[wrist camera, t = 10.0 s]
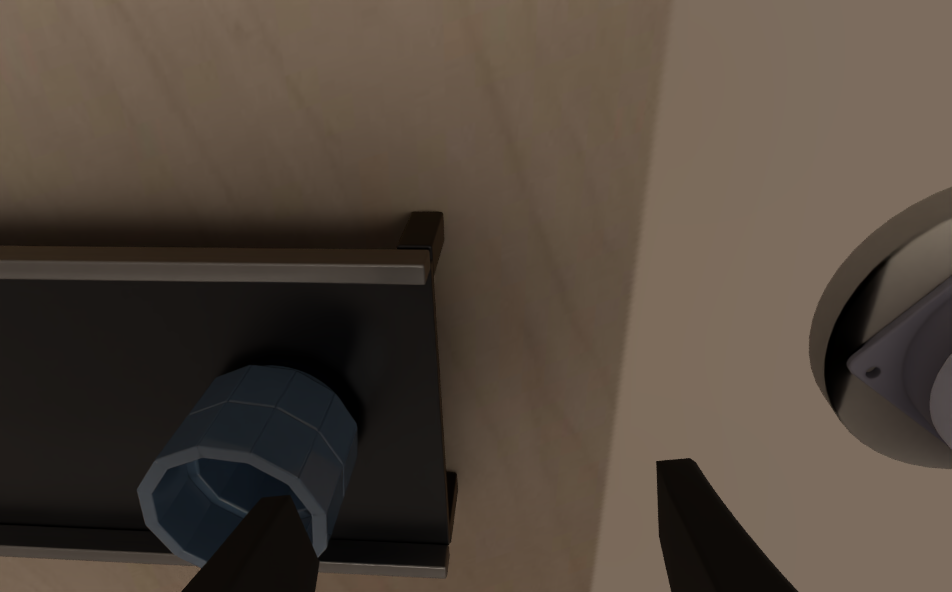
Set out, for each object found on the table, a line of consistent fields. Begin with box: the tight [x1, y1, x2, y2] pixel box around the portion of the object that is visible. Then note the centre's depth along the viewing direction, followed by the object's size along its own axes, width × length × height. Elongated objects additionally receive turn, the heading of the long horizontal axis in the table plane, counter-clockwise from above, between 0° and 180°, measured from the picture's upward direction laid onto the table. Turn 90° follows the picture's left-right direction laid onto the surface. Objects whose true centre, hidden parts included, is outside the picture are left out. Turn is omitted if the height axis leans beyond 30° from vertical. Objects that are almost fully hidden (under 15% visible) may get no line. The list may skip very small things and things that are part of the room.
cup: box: [137, 365, 358, 568], centre depth 18 cm, size 5×5×4 cm
